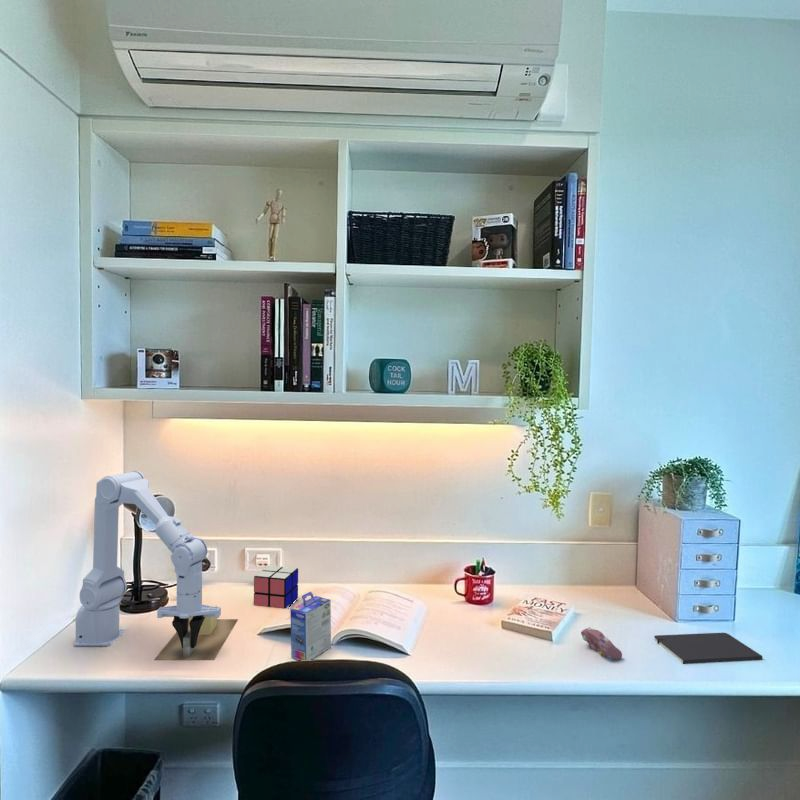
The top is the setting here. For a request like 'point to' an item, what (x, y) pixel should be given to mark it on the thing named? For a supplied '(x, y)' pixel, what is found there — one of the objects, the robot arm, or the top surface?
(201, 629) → the block
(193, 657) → the tan flat slab
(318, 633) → the ink cartridge box
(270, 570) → the puzzle cube
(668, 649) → the notebook
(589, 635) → the reddish brown lumpy piece
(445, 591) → the top surface
